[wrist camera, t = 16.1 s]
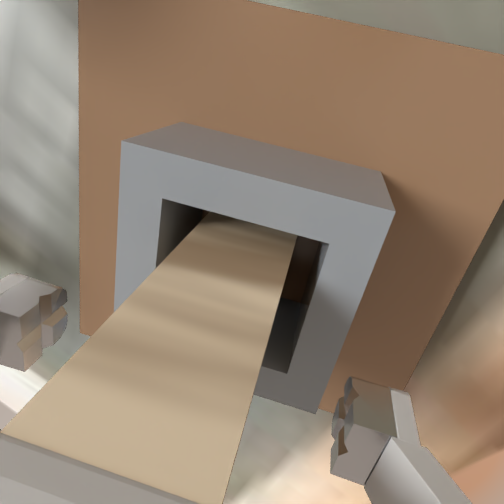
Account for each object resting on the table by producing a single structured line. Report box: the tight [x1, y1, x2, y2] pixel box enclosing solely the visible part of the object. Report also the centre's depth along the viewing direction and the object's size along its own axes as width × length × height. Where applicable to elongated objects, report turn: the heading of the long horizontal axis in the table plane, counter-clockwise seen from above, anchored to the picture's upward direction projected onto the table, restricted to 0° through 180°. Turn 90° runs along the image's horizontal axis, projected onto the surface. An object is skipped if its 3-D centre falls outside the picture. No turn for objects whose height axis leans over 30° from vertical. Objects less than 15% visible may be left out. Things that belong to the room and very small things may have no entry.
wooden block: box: [0, 211, 298, 504], centre depth 12 cm, size 4×4×14 cm
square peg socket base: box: [78, 0, 504, 414], centre depth 16 cm, size 18×18×6 cm
